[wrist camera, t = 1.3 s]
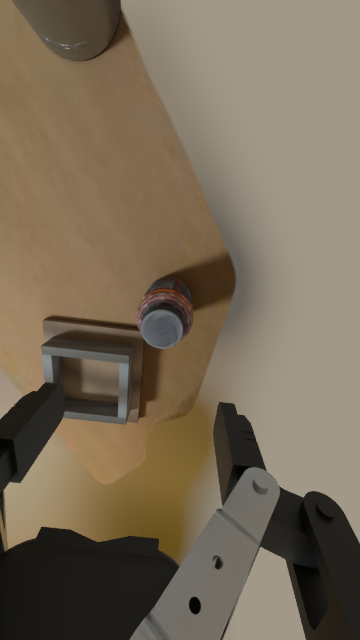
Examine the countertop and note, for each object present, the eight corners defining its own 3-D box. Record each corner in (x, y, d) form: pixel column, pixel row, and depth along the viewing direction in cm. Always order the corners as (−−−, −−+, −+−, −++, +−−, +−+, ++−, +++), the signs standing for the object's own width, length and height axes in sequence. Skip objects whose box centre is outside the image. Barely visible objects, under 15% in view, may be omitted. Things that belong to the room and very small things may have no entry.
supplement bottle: (138, 293, 33) (115, 322, 22) (173, 266, 31) (167, 284, 21) (165, 326, 34) (156, 368, 24) (200, 302, 33) (206, 336, 22)
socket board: (46, 317, 34) (29, 328, 31) (145, 329, 35) (140, 341, 31) (53, 408, 40) (40, 427, 36) (138, 418, 40) (133, 437, 36)
